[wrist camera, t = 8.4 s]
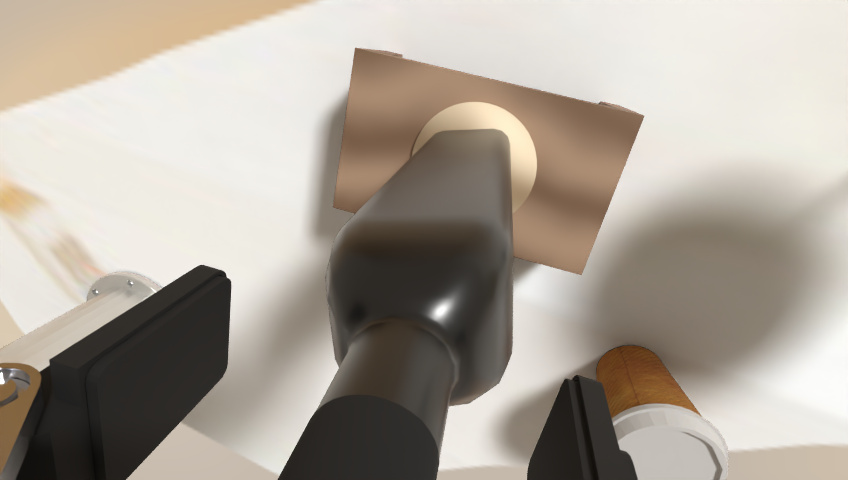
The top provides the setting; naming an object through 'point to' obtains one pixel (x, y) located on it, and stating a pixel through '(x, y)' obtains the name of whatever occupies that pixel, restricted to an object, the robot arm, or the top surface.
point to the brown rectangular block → (490, 109)
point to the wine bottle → (415, 312)
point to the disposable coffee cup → (658, 420)
